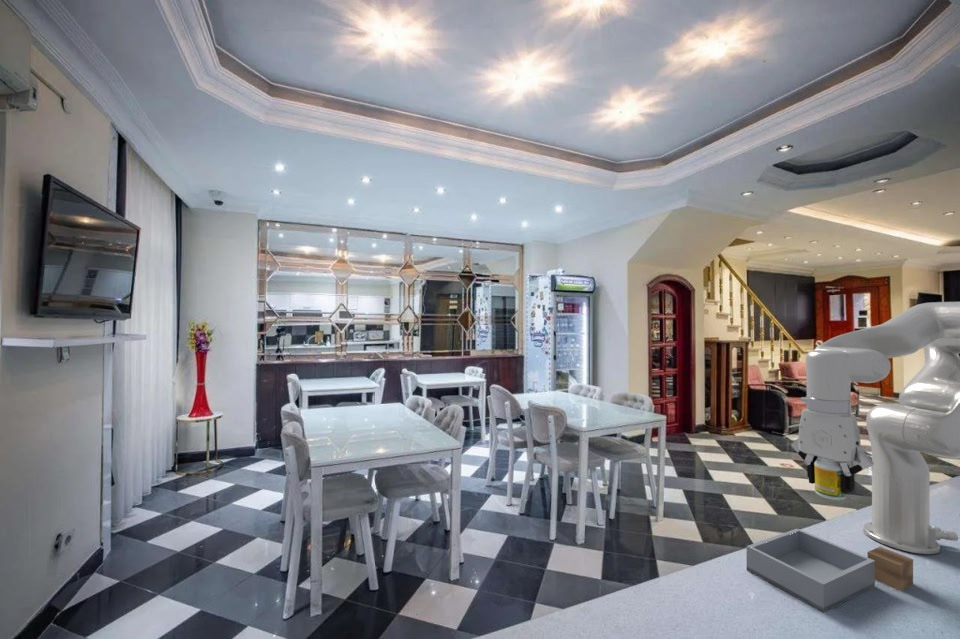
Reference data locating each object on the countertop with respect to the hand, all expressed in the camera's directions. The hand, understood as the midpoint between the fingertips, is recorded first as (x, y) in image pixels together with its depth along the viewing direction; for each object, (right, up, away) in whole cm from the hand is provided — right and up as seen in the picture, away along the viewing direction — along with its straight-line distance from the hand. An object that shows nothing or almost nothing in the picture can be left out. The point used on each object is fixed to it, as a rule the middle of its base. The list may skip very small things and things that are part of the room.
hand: (830, 486), depth 92 cm
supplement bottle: (0, -2, 0) cm, 2 cm away
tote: (-12, -15, -9) cm, 21 cm away
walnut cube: (+4, -15, -10) cm, 18 cm away
